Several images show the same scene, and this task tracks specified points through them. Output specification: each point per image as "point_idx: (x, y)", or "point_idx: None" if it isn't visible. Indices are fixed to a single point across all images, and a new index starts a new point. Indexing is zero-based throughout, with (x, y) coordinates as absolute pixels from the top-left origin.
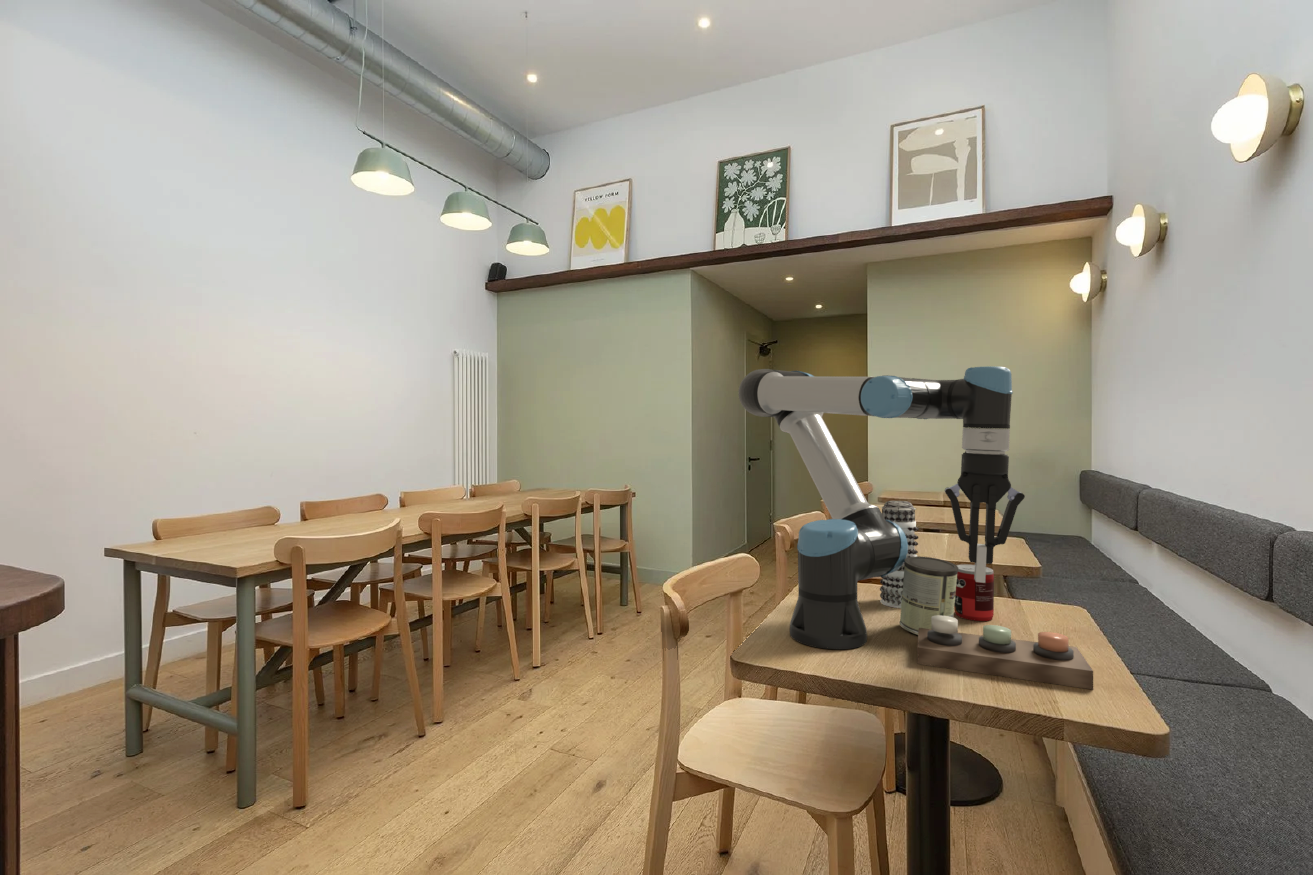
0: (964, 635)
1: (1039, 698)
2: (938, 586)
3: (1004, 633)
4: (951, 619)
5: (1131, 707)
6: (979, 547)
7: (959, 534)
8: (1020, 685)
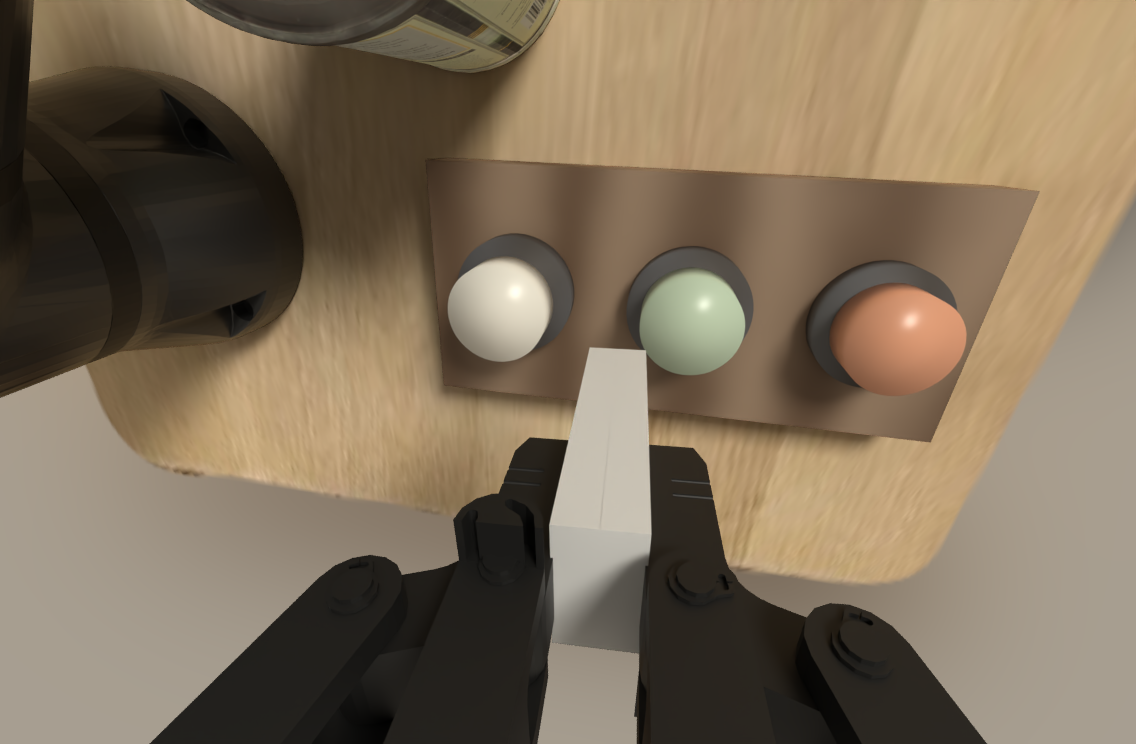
0: (591, 201)
1: (726, 493)
2: (417, 41)
3: (706, 372)
4: (521, 314)
5: (940, 494)
6: (573, 634)
7: (328, 732)
8: (705, 433)
